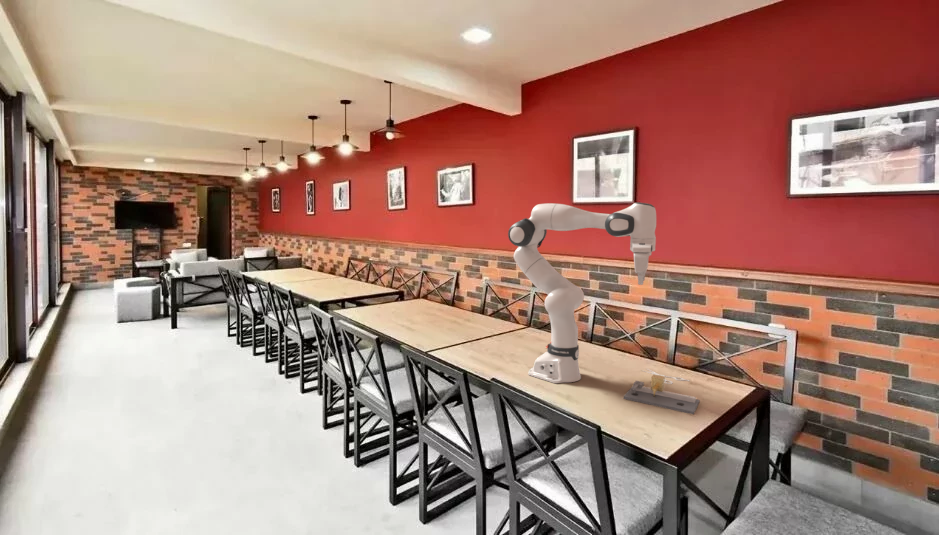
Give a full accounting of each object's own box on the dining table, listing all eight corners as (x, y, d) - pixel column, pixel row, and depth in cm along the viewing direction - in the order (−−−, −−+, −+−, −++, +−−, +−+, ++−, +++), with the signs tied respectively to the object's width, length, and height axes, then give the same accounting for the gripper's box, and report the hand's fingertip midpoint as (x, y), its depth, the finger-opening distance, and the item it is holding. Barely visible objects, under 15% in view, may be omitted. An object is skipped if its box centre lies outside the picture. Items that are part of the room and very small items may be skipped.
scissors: (672, 385, 181) (633, 370, 199) (672, 387, 182) (633, 371, 199) (690, 380, 186) (650, 366, 204) (690, 382, 186) (650, 367, 204)
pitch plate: (623, 398, 170) (623, 388, 169) (632, 388, 179) (633, 378, 179) (693, 414, 156) (694, 403, 155) (699, 402, 165) (699, 392, 165)
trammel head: (648, 395, 168) (648, 380, 167) (653, 389, 173) (653, 374, 173) (659, 398, 165) (660, 382, 164) (664, 391, 171) (664, 376, 170)
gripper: (635, 244, 179) (634, 278, 181) (631, 247, 160) (630, 286, 162) (652, 244, 176) (651, 279, 178) (650, 248, 158) (649, 287, 159)
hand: (641, 282), depth 170 cm, fingers open, 8 cm apart
